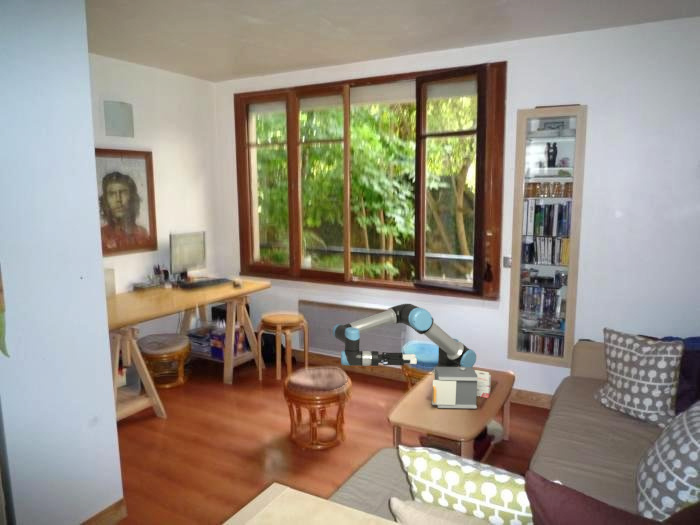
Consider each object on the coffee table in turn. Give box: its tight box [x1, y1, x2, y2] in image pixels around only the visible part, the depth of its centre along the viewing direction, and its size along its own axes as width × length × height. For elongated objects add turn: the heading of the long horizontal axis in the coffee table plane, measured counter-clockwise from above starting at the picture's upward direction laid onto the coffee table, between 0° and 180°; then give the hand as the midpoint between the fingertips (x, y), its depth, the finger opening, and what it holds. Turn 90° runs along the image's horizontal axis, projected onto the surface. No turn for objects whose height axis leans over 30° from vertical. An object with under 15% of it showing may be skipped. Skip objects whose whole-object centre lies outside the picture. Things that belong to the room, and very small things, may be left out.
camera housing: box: [434, 366, 478, 410], centre depth 266 cm, size 14×20×19 cm
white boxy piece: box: [431, 379, 456, 406], centre depth 258 cm, size 6×12×13 cm, turn 89°
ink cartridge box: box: [474, 369, 492, 399], centre depth 278 cm, size 9×5×15 cm, turn 62°
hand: (415, 359), depth 260 cm, fingers open, 5 cm apart
